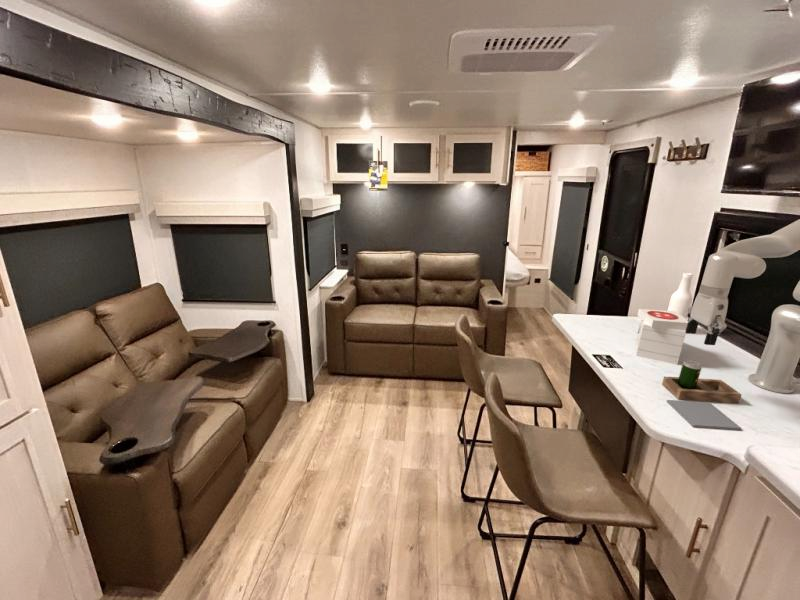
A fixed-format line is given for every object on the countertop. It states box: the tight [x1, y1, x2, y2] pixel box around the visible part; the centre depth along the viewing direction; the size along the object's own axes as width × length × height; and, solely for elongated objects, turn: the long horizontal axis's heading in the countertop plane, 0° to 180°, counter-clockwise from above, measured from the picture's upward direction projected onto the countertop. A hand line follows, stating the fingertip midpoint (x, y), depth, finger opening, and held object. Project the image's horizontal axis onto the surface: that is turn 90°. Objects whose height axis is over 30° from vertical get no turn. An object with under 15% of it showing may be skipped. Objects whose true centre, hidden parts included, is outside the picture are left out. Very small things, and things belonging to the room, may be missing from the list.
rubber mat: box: [666, 399, 742, 431], centre depth 123 cm, size 14×14×1 cm
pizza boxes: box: [635, 308, 688, 365], centre depth 169 cm, size 19×30×18 cm, turn 148°
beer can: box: [677, 359, 702, 390], centre depth 134 cm, size 5×5×12 cm
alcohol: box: [667, 272, 694, 320], centre depth 190 cm, size 9×9×30 cm
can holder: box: [661, 376, 743, 404], centre depth 135 cm, size 20×10×4 cm, turn 85°
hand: (699, 338), depth 130 cm, fingers open, 9 cm apart
